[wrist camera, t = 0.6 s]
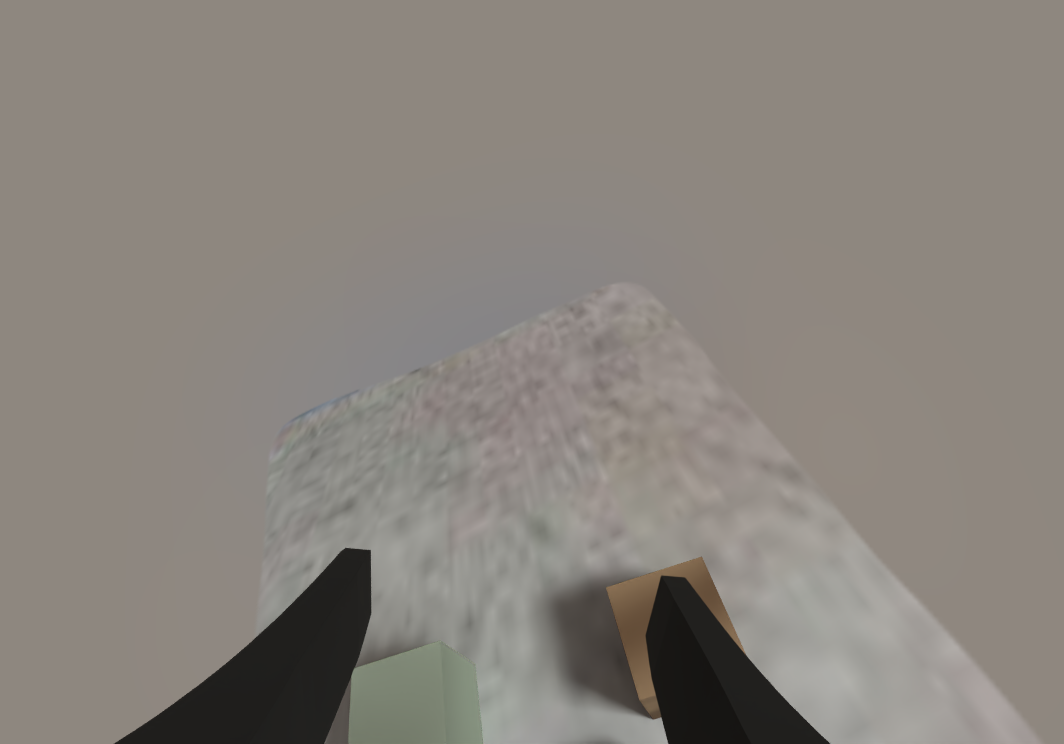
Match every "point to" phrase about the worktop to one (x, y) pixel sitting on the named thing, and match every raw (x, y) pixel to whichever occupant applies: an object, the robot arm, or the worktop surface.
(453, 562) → the worktop surface
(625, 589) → the walnut cube
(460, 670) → the sage block
